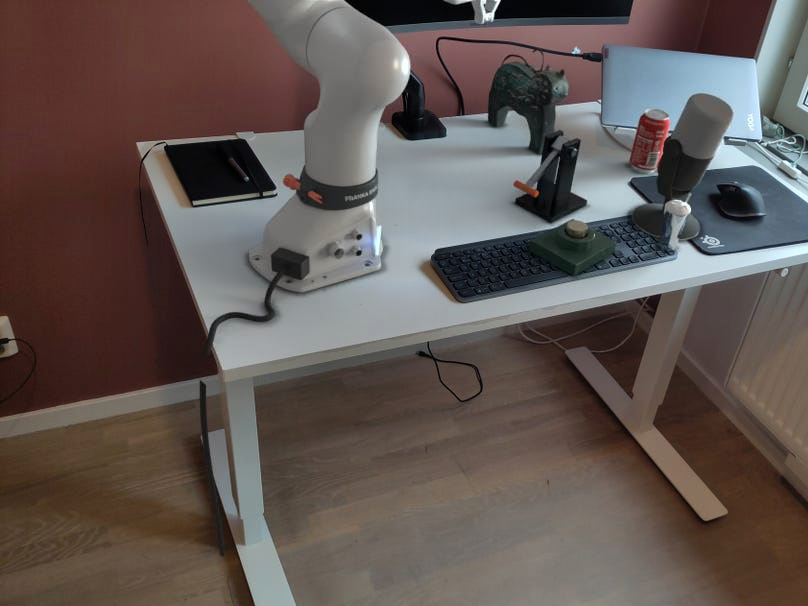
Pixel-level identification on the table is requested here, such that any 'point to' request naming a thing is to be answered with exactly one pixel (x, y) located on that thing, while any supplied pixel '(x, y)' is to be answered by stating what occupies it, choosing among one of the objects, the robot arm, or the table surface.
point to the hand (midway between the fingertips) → (483, 22)
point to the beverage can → (649, 140)
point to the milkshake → (673, 223)
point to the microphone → (686, 159)
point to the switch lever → (542, 168)
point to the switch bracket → (558, 196)
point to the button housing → (572, 249)
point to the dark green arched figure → (527, 97)
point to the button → (576, 229)
